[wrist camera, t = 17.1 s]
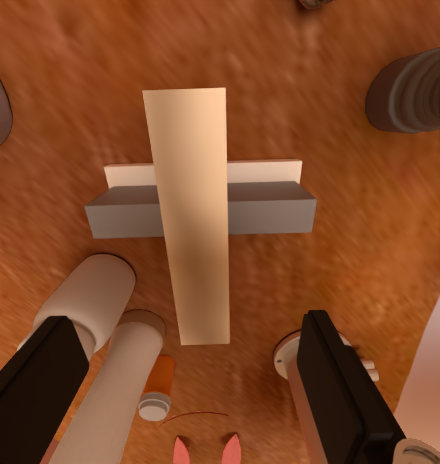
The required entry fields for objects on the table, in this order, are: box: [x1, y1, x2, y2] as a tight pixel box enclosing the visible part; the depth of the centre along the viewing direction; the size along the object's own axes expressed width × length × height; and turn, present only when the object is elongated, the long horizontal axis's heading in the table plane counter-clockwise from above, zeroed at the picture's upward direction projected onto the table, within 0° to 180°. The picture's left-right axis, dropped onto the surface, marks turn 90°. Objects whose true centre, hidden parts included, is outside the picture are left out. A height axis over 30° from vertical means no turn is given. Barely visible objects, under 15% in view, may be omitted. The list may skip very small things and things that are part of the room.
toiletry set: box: [17, 254, 175, 464], centre depth 26 cm, size 25×8×21 cm, turn 16°
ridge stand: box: [84, 159, 317, 239], centre depth 23 cm, size 20×7×8 cm, turn 92°
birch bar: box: [143, 88, 230, 345], centre depth 17 cm, size 4×18×5 cm, turn 2°
